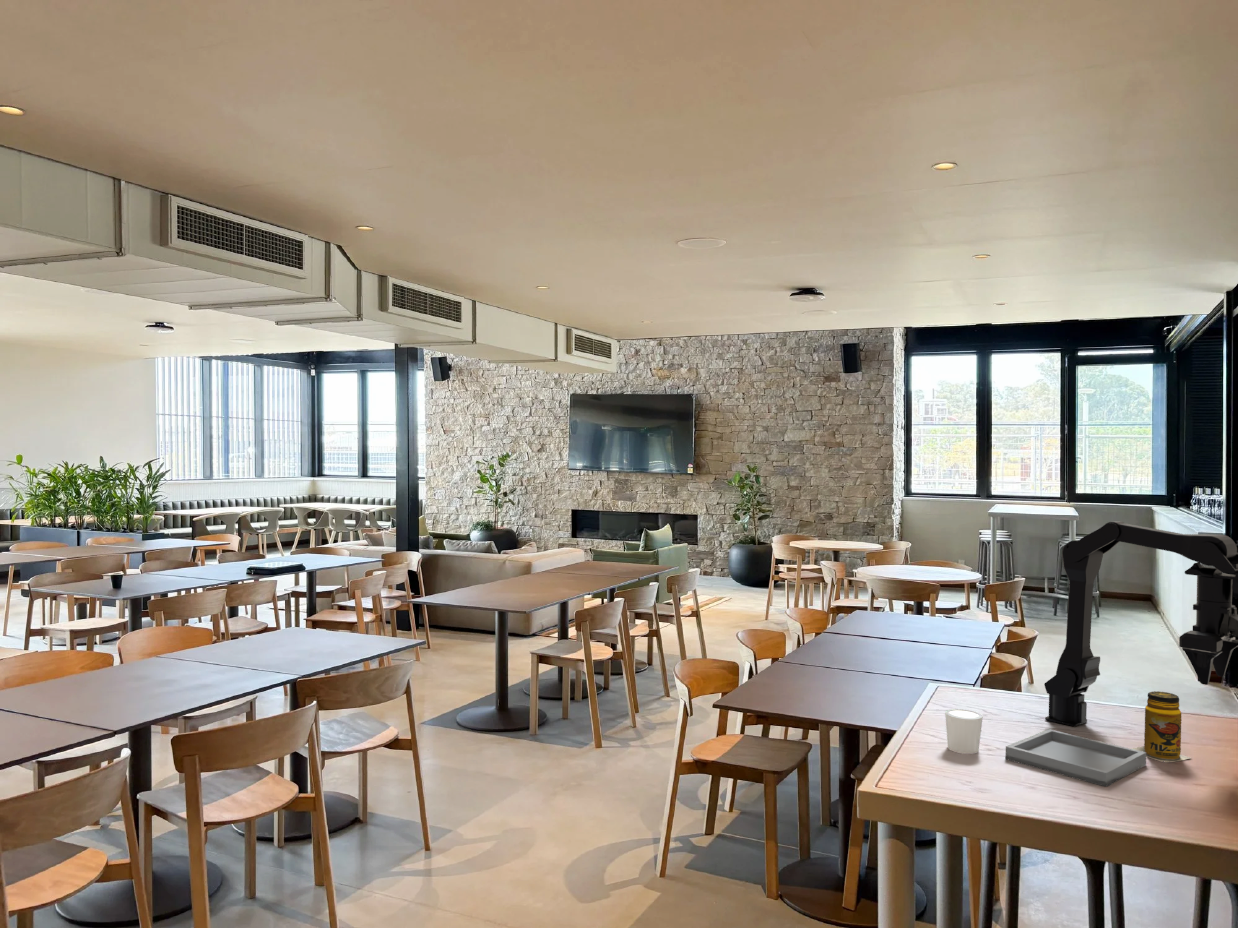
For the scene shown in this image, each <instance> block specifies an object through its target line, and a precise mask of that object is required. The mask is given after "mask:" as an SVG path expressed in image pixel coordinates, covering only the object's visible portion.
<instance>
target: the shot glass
mask: <svg viewBox="0 0 1238 928" xmlns="http://www.w3.org/2000/svg"><path fill="white" fill-rule="evenodd" d="M944 715H945V727H946V729H945V730H946V739H947V740H946V741H947V748H948V750H950V751H952V752H954V753H958V754H963V755H976V754H977V753H979V751H980V750H979V749H980V743H981V735H982V727H983V717H984V716H983V714H981V713H980V712H977V711H973V710H969V709H968V710H967V709H958V708H957V709H956V708H955V709H949V710H946V711H945V713H944Z"/></svg>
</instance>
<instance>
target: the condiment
mask: <svg viewBox="0 0 1238 928" xmlns="http://www.w3.org/2000/svg"><path fill="white" fill-rule="evenodd" d="M1146 702H1147V703H1146V706H1145V707H1144V732H1143V733H1144V739H1143V740H1144V741H1143V742H1144V743H1143V746H1138V747H1131V748H1130V749H1134V750H1138V751H1142V752H1146V758H1149V759H1152V760H1155V761H1159V762H1161V763H1167V764H1168V763H1174V762H1181V761H1185V760H1188V759H1191V757H1189V756H1186V755H1184V754H1182V753H1181V751H1182V711H1181V709H1180V698H1179V695H1176V694H1175V693H1171V692H1165V691H1149V692H1148V693H1147V701H1146ZM1163 761H1165V762H1163Z"/></svg>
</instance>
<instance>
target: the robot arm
mask: <svg viewBox="0 0 1238 928" xmlns="http://www.w3.org/2000/svg"><path fill="white" fill-rule="evenodd" d="M1120 542H1121V543H1127V544H1131V545H1136V546H1140V547H1146V548H1151V549H1157V550H1162V551H1165V552H1172V553H1175V554H1176V555H1177V554H1178V555H1180V556H1182V557H1184V558H1186V559H1188V560H1190V561H1193V562H1194V563H1193V564H1192V565H1191V567H1189V568H1188V569H1185V570H1184V574H1185V575H1188V576H1196V603H1193V604H1192V610H1193V611H1196V614H1195V615H1196V616H1195V617H1196V618H1195V620H1196V623H1195V624H1193V625H1192V630H1188V631H1186V632H1184V633H1183V634H1181V635H1180V636H1179V639H1178V640H1179V642H1178V643H1179V644H1178V646H1179V647H1180V648H1181V650H1182V651H1183V652H1184V653H1185V655H1186V656H1187V658H1188V660H1189V662H1190V664H1191V666H1192V668H1193V670H1194V673H1195V674H1196V676H1197V678H1198V680H1199V682H1200V684H1201V685H1204V686H1207V685H1209V683H1210V679H1211V673H1212V670H1213V669H1212V668H1214V670H1215V675H1216V676H1217V677H1222V678H1223V677H1224V676H1225V675H1226V671H1227V668H1228V665H1229V663H1230V662H1229V661H1230V660H1231V656H1232V653H1233V651H1234V649H1236V648H1238V608H1237V607H1236V605H1234V604H1233V597H1234V599H1237V600H1238V547H1237V544H1236V543H1235V541H1234V539H1232V538H1231V537H1229V536H1228V535H1226V534H1208V533H1202V534H1201V533H1199V534H1198V533H1197V534H1196V533H1195V534H1194V533H1193V534H1192V533H1180V532H1175V531H1169V530H1163V529H1159V528H1158V529H1157V528H1153V527H1152V528H1151V527H1147V526H1141V525H1136V524H1130V523H1126V522H1124V521H1119V520H1117V521H1109V522H1108V521H1107V523H1105V524H1104V525H1102V526H1101V527H1099V528H1098V529H1096V530H1094V531H1091V532H1090V533H1088V534H1086V535H1085V536H1083V537H1081V538H1080V539H1075V540H1070V541H1068V542H1067V543H1065V545H1064V546H1063V547H1062V550H1061V555H1062V563H1063V564H1062V565H1063V569H1064V572H1065V574H1066V577H1067V580H1068V593H1067V594H1068V596H1067V599H1068V600H1067V617H1066V634H1065V635H1066V639H1065V646H1064V649H1063V651H1062V652H1061V655H1060V656H1059V659H1058V662H1057V663H1058V664H1057V668H1056V672H1055V674H1054V676H1053V677H1051V678H1050V679H1048V680H1047V681H1046V682H1044V688H1045V692H1046V694H1048V716H1045V717H1044V720H1045V721H1047V722H1048V721H1049V722H1053V723H1057V724H1061V725H1062V724H1063V725H1067V726H1070V727H1077V726H1080V725H1082V724H1083V725H1084V724H1085V723H1087V722H1088V719H1087V710H1088V709H1087V707H1088V706H1087V704H1088V703H1087V701H1085V694H1084V693H1087V691H1088V689H1089V687H1090V686H1091V685H1093V684H1094V683H1096V680H1097V678H1098V676H1101V673H1100V663H1101V656H1098V655H1097V656H1096V655H1095V656H1094V653H1093V651H1092V650H1091V637H1092V636H1091V632H1092V618H1093V617H1092V616H1093V615H1092V612H1093V596H1094V594H1093V593H1094V582H1095V580H1096V577H1097V575H1098V574H1099V571H1100V569H1101V566H1102V561H1103V558H1104V555H1105V554H1107V553H1108V552H1110V551H1111V550H1112V549H1114V547H1116V546H1117V545H1118V544H1119V543H1120ZM1207 566H1208V567H1207Z"/></svg>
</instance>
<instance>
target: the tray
mask: <svg viewBox="0 0 1238 928" xmlns="http://www.w3.org/2000/svg"><path fill="white" fill-rule="evenodd" d="M1004 757H1005V760H1007V759H1009V760H1008V761H1010V762H1014V761H1015V762H1016V763H1018V762H1019V764H1022V765H1026V766H1030V767H1032V768H1037V769H1041V770H1044V771H1048V772H1051V773H1053V774H1054V773H1055V774H1059V775H1063V776H1065V777H1069V778H1072V777H1073V779H1076V780H1079V779H1080V781H1084V782H1086V783H1087V782H1088V783H1091V784H1094V785H1098V786H1102V787H1108V786H1110V785H1112V784H1114V783H1116V782H1117V781H1119V780H1121V779H1123V778H1125V777H1127V776H1129V775H1130V774H1132V773H1134V772H1136V771H1138V770H1140V769H1141V768H1143V767H1145V766H1146V765H1147V757H1146V752H1143V751H1138V750H1134V749H1131V748H1128V747H1125V746H1121V745H1117V744H1113V743H1108V742H1104V741H1100V740H1096V739H1093V738H1087V737H1085V736H1084V737H1083V736H1079V735H1075V734H1071V733H1067V732H1063V731H1059V730H1054V729H1050V728H1049V729H1045V730H1043V731H1041V732H1039V733H1038V732H1037V733H1035V734H1033V735H1031V736H1028V737H1025V738H1022V739H1021V740H1018V741H1016V742H1013V743H1011V744H1007V745H1005V756H1004Z"/></svg>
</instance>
